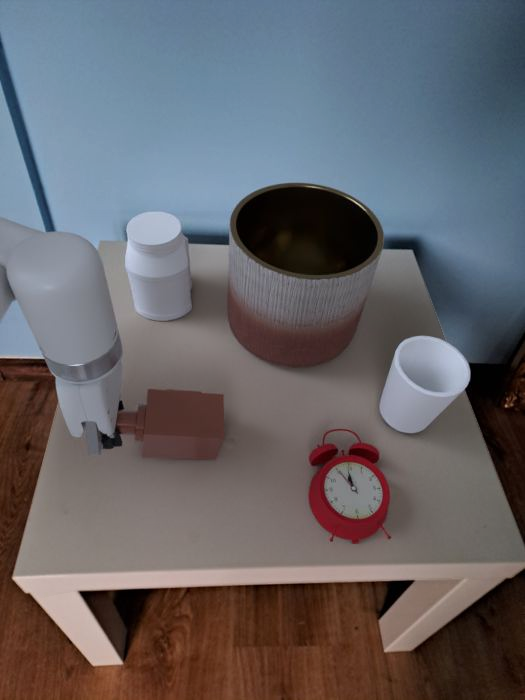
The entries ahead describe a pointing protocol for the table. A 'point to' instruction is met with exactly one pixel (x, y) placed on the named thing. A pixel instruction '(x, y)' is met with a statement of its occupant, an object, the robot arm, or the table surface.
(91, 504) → the table surface
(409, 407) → the cup
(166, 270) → the jar
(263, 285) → the planter
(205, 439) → the brown handled box
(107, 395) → the robot arm
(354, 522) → the alarm clock
